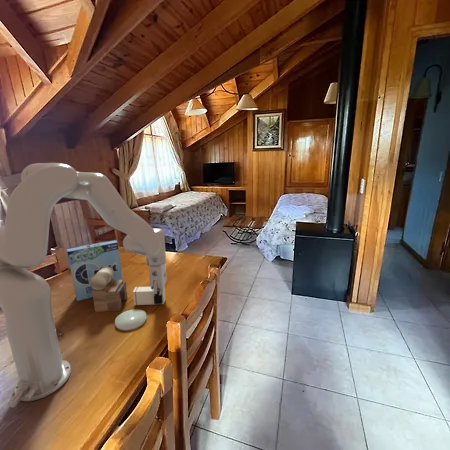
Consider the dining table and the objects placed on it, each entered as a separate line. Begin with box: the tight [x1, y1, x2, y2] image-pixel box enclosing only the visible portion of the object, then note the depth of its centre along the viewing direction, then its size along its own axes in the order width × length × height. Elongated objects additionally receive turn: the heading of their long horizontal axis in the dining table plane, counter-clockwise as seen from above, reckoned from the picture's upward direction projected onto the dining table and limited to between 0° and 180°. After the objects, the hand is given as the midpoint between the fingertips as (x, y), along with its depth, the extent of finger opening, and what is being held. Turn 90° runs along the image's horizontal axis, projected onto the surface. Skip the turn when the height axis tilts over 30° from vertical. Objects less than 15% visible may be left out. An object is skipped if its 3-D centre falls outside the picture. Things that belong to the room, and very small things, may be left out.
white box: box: [132, 286, 166, 306], centre depth 105 cm, size 4×12×6 cm, turn 94°
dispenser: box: [90, 266, 129, 312], centre depth 103 cm, size 10×10×15 cm
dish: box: [114, 308, 147, 331], centre depth 94 cm, size 11×11×1 cm
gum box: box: [66, 239, 124, 302], centre depth 111 cm, size 20×5×23 cm, turn 123°
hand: (159, 300), depth 105 cm, fingers closed on white box, 4 cm apart
